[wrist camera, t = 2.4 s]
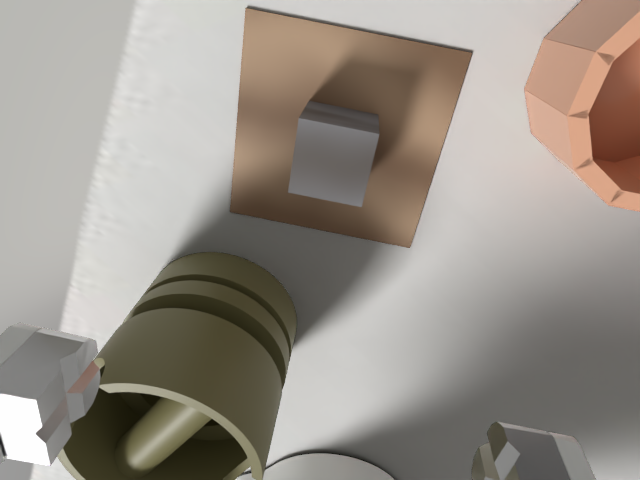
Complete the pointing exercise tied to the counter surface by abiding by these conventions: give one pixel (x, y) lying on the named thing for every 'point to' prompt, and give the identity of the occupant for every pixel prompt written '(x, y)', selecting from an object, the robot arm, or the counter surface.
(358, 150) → the lid
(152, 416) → the piston
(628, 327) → the counter surface
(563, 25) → the bowl
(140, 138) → the counter surface
